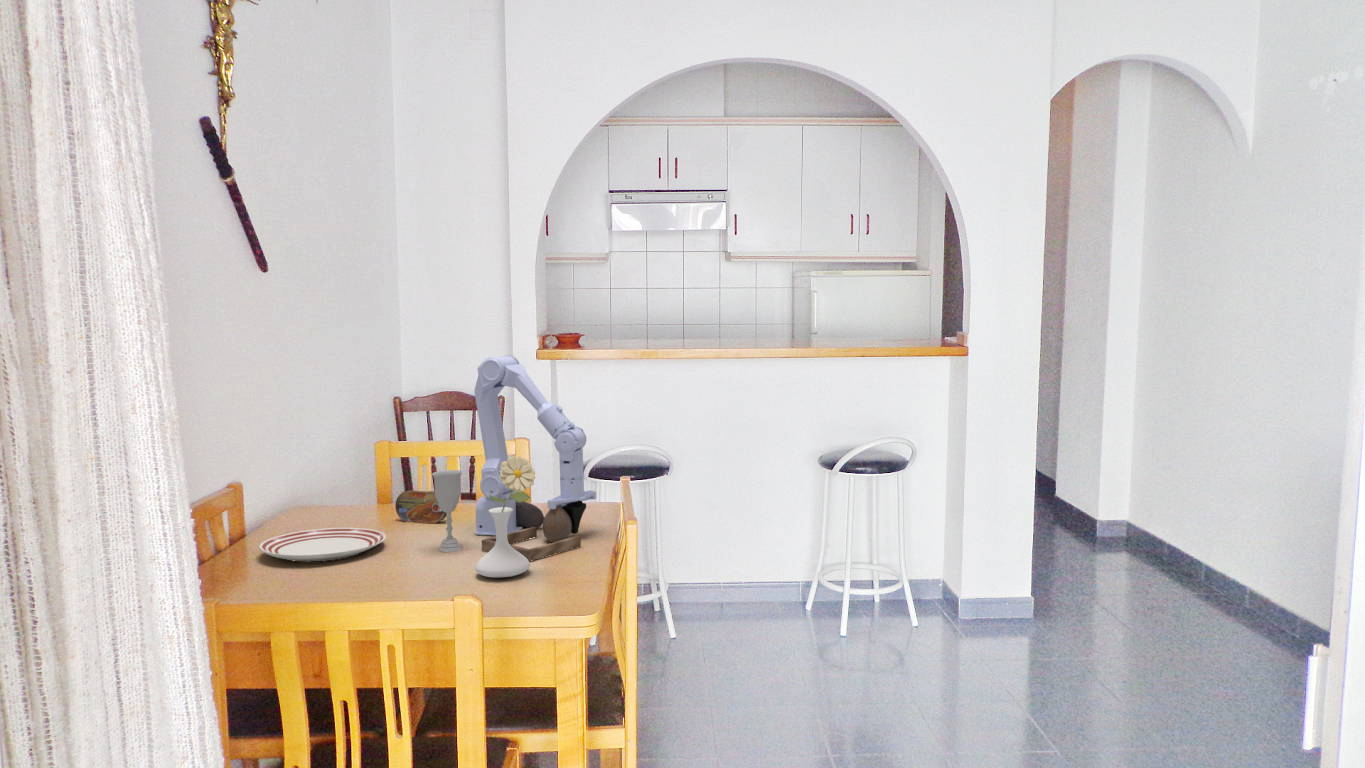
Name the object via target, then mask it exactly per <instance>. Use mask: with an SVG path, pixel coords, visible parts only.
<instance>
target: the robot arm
mask: <svg viewBox="0 0 1365 768" xmlns="http://www.w3.org/2000/svg"><path fill="white" fill-rule="evenodd" d="M476 369H477V375H478V376H477V379H476V381H475V385H474V386H475V387H474V397H475V398H474V399H475V403H476V408H477V409H476V410H477V416H478V421H479V426H480V427H479V428H480V434H481V439H482V445H483V451H484V457H485V462H484V464H483V466H482V468H481V469H480V473H481V480H480V483H479V484H480V491H481V494H483V496H480V497H479V498H478V500H476V505H475V522H476V523H475V527H476V530H475V532H474V534H475V535H479V536H496V526H495V522H494V519H493V517H492V515H491V514H490V512H489V510H490V509H493V508H499V507H503V506H504V504H505V503H506V501H507V499H508V497H509V495H510V493H511V489H507V488H506V484H503V481H502V480H500V470H501V465H502V462H504V461H507V459H508V458H510V457H509V456H508V450H507V444H506V437H505V431H504V426H503V425H504V424H503V420H502V413H501V406H500V401H499V394H500V393H501V391H503V389H504V388H505V387H510V388H514V389H516V390H517V391H518V392H519V393H520V394H521V396H522V397H523V398H524V399H525V400H526V401H527V402H528V403H529V404H530V405H531V406H532V407H533V408H534V409H535V411H536V412H537V413H536V414H537V420H538V421H539V423H541V425H542V426H543V428H544V429H545V430H546V431H547V433H548V434H549V435H550V436H551V437H552V439H554V440H555V441H553V443H554V447H555V449H556V451H558V454H559V455H558V457H559V489H560V491H559V492H560V495H558V496H556V497H554V498H552V499H547V509H549V510H550V509H556V506H560V505H562V507H563V509H564V510H565V511H566V512H567V514H568V515H569V517H570V519H571V523H572V530H571V534H575V535H576V534H578V533H579V528H580V523H581V521H582V517H583V514H584V513H585V511H586V509H587V503H586V501H589V500H596V499H597V491H596V490H585V479H584V478H585V477H584V475H585V474H584V473H585V472H584V449H583V448H584V447H585V446H586V443H587V435H586V434H585V431H584V429H583V428H581V427H579V426H575V423H574V422H573V421H571V420H570V419H569V418H568V417H567V416H566V414H565V413H564V412H563V410H564V409H563V407H562V406H561V405H557V404H556V403H550V402H549V401H548V400H547V398H546V397H545V396H544V394H543V393H542V392H541V391H540V389H539V388H538V387H537V386H538V385H536V384H535V382H534V381H533V380H532V378H531V376H529V374H528V373H527V369H526V368H525V366H524V365H523V364H522V363H520V361H519V359H518V358H517V357H515V356H514V355H512V354H511V355H508V354H507V355H504V356H496V357H495V356H494V357H493V356H492V357H491V356H490V357H487V358H485V359H484V360H483V361H482V362H481V363H480V364H479V366H478V367H477V368H476ZM515 492H516V491H513V492H512V494H513V493H515ZM489 494H490V495H491V496H493V497H496V498H499V499H503V500H504V501H505V503H501V502H498V501H494V500H492V499H491V498H490V496H489ZM584 501H585V502H584ZM505 507H508V508H512V509H513V511H512V512H511V514H510V516H509V519H508V524H507V533H511V532H515V531H519V530H523V529H524V528H523V527H516V501H515V500H514V499H513V498H512V496H511V497H510V499H509V501H508V502H507V504H506V506H505Z"/></svg>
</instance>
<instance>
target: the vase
mask: <svg viewBox="0 0 1365 768" xmlns="http://www.w3.org/2000/svg"><path fill="white" fill-rule="evenodd" d="M571 530H572V523H571V519H570V517H569V515H568V514H567V512H566V511H565V510H564V509H563V507H562V505H560V506H556V509H549V510H548V511H547V512H546V514H544V520H543V524H542V534H543V535H544V536H543V537H544V538H545V539H546V540H547V541H548V542H549V543H551V542H557V541H560V540H564V539H567V538H570V537H571V534H572V533H571Z"/></svg>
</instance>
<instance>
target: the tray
mask: <svg viewBox="0 0 1365 768" xmlns="http://www.w3.org/2000/svg"><path fill="white" fill-rule="evenodd" d="M533 537H537V538H538V527H531V528H523V529H521V530H519V531H515V532H511V533H507V539H508V543H509V544H511V545H510V546H511V547H512V548H514V549H515V550H516V551H518V552H519V553H521V554H522V555H523V556H525V557H526V558H527V559H528V561H531V560H535V559H539V558H542V559H544V558H543V557H545V558H547V557H546V556H549V555H552V556H554V555H553V554H555V553H559V552H563V551H566V550H569V549H572V548H576V547H580V546H581V545H582V544H581V543H582V541H581V540H582V539H581V538H582V537H581V536H579V535H576V536H573V537H571V536H570V537H569V538H567V539H564V540H560V541H557V542H553V543H551V542H549V543H547V544H542V545H539V546H536V547H532V548H525V547H521V546H517V545H514V544H513V543H515V544H517V543H516V542H519V543H521V542H520V541H522V542H524V541H523V540H526V539H529V538H533ZM526 541H527V540H526ZM495 543H496V535H494V536H493V537H492V536H491V537H488V538H484V539H481V551H483V552H485V553H488V552H489V551H490V550H491V549H492V548H493V547H494V546H495ZM581 547H582V546H581ZM581 547H580V548H581ZM576 549H577V548H576ZM569 551H570V550H569ZM566 552H567V551H566ZM563 553H564V552H563ZM559 554H560V553H559ZM549 557H550V556H549ZM539 560H540V559H539ZM535 561H536V560H535Z"/></svg>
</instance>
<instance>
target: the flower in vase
mask: <svg viewBox="0 0 1365 768" xmlns="http://www.w3.org/2000/svg"><path fill="white" fill-rule="evenodd" d="M535 479H536V471H535V468H533V465H532V464H530V463H529V460H527V459H526V457H525V458H524V457H523V458H522V457H521V456H518V457H516V456H515V455H512V456H511V457H509V458H508V459H507V461H504V462H502V465H501V470H500V480H502V481H503V484H506V488H507V489H511V493H510V495H509V497H508V499H507V501H506V503H505V501H504V500H503V499H499V498H496V497H493V496H491V495H490V494H489V496H490V498H491V499H492V500H494V501H498V502H501V503H505V504H504V506H503V507H499V508H493V509H490V510H489V512H490V514H491V515H492V517H493V519H494V522H495V526H496V535H495V536H496V543H495V546H494V547H493V548H492V549H491V550H490V551H489V552H486V553H485V554H484V556H482V557H481V558H480V559H479V560H478V561H477V563H476V564H475V567H474V570H475V572H477V574H478V575H481V576H483V577H487V578H494V579H495V578H499V579H500V578H508V577H515V576H518V575H520V574H524V573H525V572H526V571H527V570H529V568H530V567H531V562H529V561H528V559H527V558H526V557H525V556H523V555H522V554H521V553H519V552H518V551H516V550H515V549H514V548H512V547H511V546H510V545H509V543H508V539H507V524H508V519H509V516H510V514H511V512H512V511H513V509H512V508H508V507H505V506H506V504H507V502H508V501H509V499H510V497H511V496H512V498H513V499H514V500H515V501H516V502H519V503H520V502H526V501H528V500H530V499H531V496H530V495H529V494H528V493H527V492H526V490H527V489H530V488H531V487H532V486H534V485H535V481H534V480H535ZM513 491H515V493H513V494H512V492H513ZM527 572H528V571H527Z"/></svg>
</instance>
